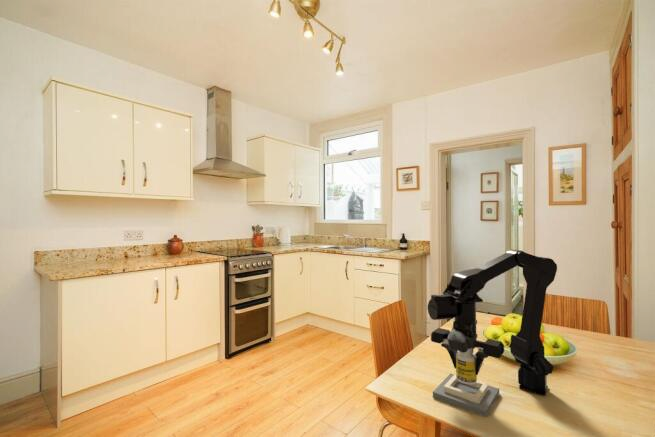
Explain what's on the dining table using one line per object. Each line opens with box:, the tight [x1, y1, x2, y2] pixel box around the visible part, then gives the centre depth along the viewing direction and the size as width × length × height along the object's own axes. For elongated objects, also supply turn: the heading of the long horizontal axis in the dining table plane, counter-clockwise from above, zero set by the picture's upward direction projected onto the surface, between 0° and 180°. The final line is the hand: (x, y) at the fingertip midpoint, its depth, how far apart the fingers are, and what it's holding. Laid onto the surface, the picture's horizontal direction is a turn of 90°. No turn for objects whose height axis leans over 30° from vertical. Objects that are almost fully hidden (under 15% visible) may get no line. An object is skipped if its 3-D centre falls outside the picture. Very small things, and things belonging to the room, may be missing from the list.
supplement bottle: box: [455, 348, 478, 384], centre depth 89 cm, size 5×5×10 cm
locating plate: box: [432, 372, 500, 418], centre depth 88 cm, size 14×14×3 cm
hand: (466, 371), depth 89 cm, fingers closed on supplement bottle, 5 cm apart
